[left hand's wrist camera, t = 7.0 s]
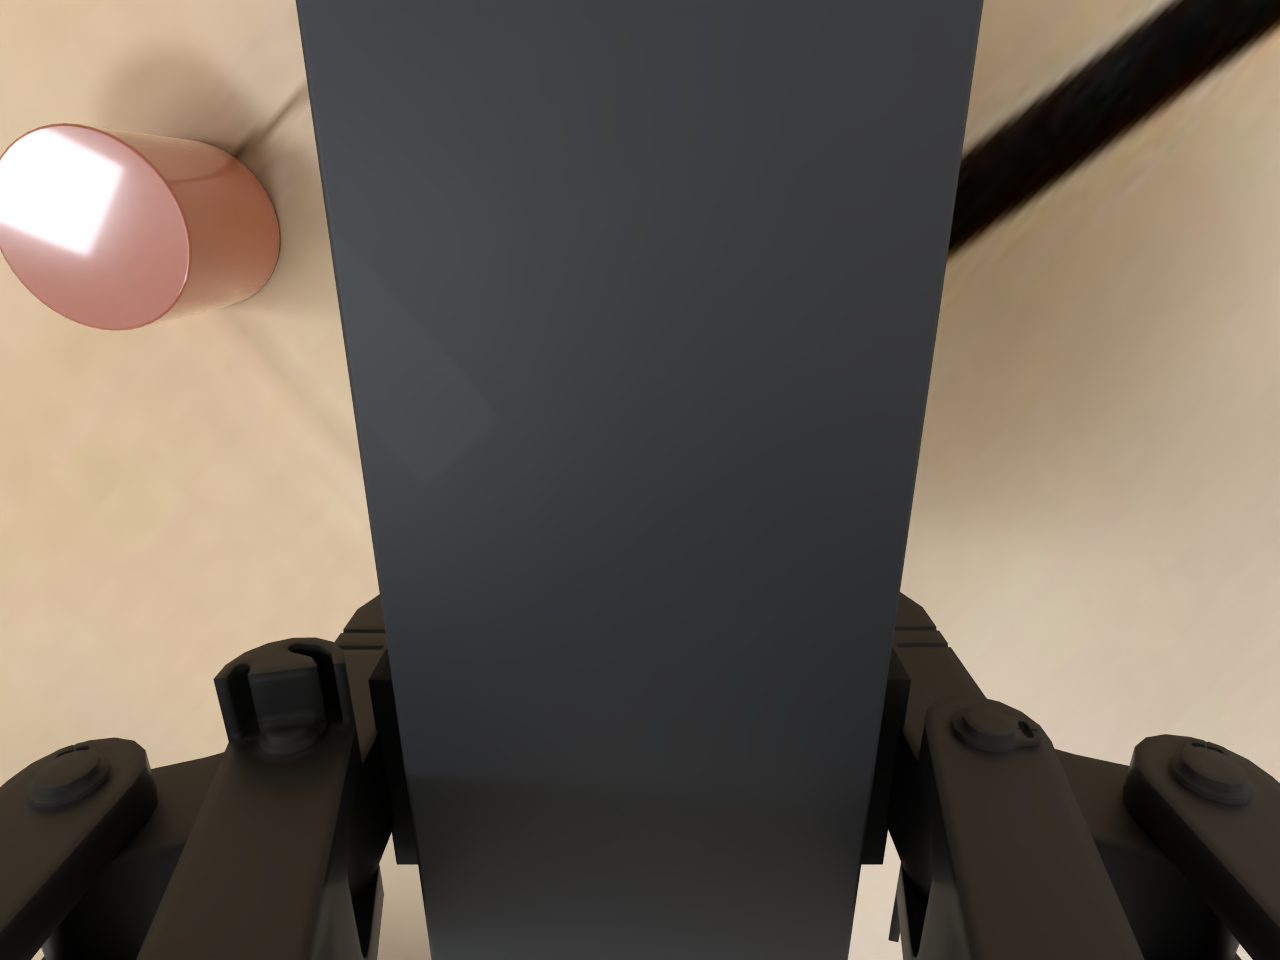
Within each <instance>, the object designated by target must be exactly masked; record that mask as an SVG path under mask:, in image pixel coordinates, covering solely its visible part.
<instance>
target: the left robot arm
mask: <svg viewBox="0 0 1280 960" xmlns="http://www.w3.org/2000/svg"><path fill="white" fill-rule="evenodd" d="M214 683H215V687H216V691H217V695H218V699H219V703H220V707H221V712H222V716H223V720H224V724H225V728H226V732H227V736H228V740H229V743H228V745H227V748H226V750H225V752H223V753H220V754H216V755H213V756H209V757H206V758H201V759H196V760H192V761H187V762H182V763H178V764H173V765H168V766H164V767H159V768H154V769H151V768H150V765H149V761H148V758H147V754H146V751H145V749H143V748H142V747H141V746H140V745H139V744H137V743H136V742H135V741H132V740H126V739H120V738H107V739H98V740H90V741H86V742H82V743H78V744H76V745H71V746H68V747H65V748H62V749H59V750H57V751H56V752H54V753H52V754H50V755H48V756H46V757H44V758H42V759H40V760H38V761H35V762H33V763H32V764H30V765H29V766H27V767H26V768H25V769H23V770H22V771H20V772H19V773H18V774H16V775H15V776H14V777H12V778H11V779H9V780H8V781H7V782H6V783H5V784H4V785H2V786H1V787H0V960H31V959H32V958H33V957H34V955H35V954H36V953H37V952H38V950H39V949H40V948H42V951H43V953H44V957H43V958H42V960H377V953H378V944H379V935H380V925H381V916H382V907H383V897H384V892H383V885H382V878H381V872H380V866H379V862H380V860H381V857H382V855H383V852H384V850H385V847H386V845H387V842H388V840H389V837H390V835H391V832H392V836H393V843H394V849H395V856H396V862H397V864H418V859H417V852H416V845H415V838H414V831H413V824H412V817H411V810H410V803H409V796H408V789H407V782H406V775H405V768H404V761H403V754H402V746H401V739H400V732H399V725H398V718H397V711H396V704H395V697H394V690H393V683H392V676H391V669H390V662H389V655H388V648H387V641H386V634H385V626H384V619H383V612H382V605H381V598H380V594H379V595H378V596H377V597H375V598H374V599H372V600H371V601H369V602H368V603H366V604H365V605H363V606H362V607H360V608H359V609H357V611H356V612H355V614H354V615H353V617H352V618H351V619H350V621H349V622H348V624H347V625H346V627H345V628H344V632H343V633H341V634H340V635H339V637H338V638H337V639H336V641H335V642H331V641H327V640H323V639H319V638H291V639H286V640H281V641H276V642H271V643H268V644H265V645H263V646H260V647H257V648H255V649H252V650H250V651H247V652H245V653H243V654H242V655H240V656H239V657H237V658H236V659H234V660H233V661H231V662H230V663H228V664H226V665H225V666H224V668H223V669H222V670H221V671H220V672H219V673H218V675H217V676H216V677H215V678H214ZM888 830H889V832H890V835H891V837H892V840H893V842H894V845H895V847H896V850H897V852H898V855H899V857H900V860H901V866H900V872H899V878H898V884H897V890H896V896H895V902H894V908H893V914H892V920H891V926H890V933H889V940H890V941H895V942H898V941H899V935H900V933H901V942H902V952H903V960H1241V958H1240V957H1239V956H1238V955H1237V954H1236V951H1237V949H1238V946H1239V944H1240V945H1241V946H1242V947H1243V948H1244V949H1245V951H1246V952H1247V953H1248V954H1249V956H1250V957H1251V958H1252V959H1253V960H1280V783H1279V782H1278V781H1277V780H1275V779H1274V778H1273V777H1272V776H1270V775H1269V774H1268V773H1266V772H1265V771H1263V770H1262V769H1261V768H1259V767H1258V766H1257V765H1255V764H1254V763H1252V762H1251V761H1250V760H1248V759H1246V758H1244V757H1242V756H1240V755H1238V754H1236V753H1233V752H1231V751H1229V750H1227V749H1226V748H1224V747H1222V746H1219V745H1216V744H1214V743H1211V742H1205V741H1204V740H1200V739H1196V738H1192V737H1185V736H1176V735H1167V734H1165V735H1159V736H1152V737H1146V738H1145V739H1144V740H1143V741H1141V742H1140V743H1139V744H1138V745H1137V746H1135V749H1134V752H1133V756H1132V759H1131V762H1130V766H1126V765H1122V764H1117V763H1112V762H1108V761H1103V760H1098V759H1093V758H1089V757H1084V756H1079V755H1075V754H1071V753H1068V752H1064V751H1060V750H1057V749H1054V747H1053V744H1052V742H1051V740H1050V739H1049V737H1048V736H1047V735H1046V733H1045V732H1044V730H1043V729H1042V728H1041V726H1040V725H1038V724H1037V723H1036V722H1034V721H1033V720H1032V719H1030V718H1029V717H1028V716H1026V715H1025V714H1024V713H1022V712H1021V711H1019V710H1016V709H1014V708H1012V707H1010V706H1008V705H1005V704H1003V703H1001V702H998V701H994V700H990V699H987V698H986V697H985V696H984V694H983V693H982V691H981V690H980V688H979V687H978V686H977V684H976V683H975V681H974V680H973V678H972V677H971V676H970V674H969V673H968V671H967V670H966V668H965V667H964V666H963V664H962V663H961V661H960V660H959V658H958V657H957V656H956V654H955V653H954V651H953V650H952V649H951V647H948V643H947V641H946V640H945V639H944V637H943V636H942V634H941V633H940V631H937V630H936V626H935V624H934V623H933V621H932V620H931V619H930V617H929V616H928V614H927V613H926V611H925V610H924V609H923V607H922V606H920V605H919V604H917V603H916V602H914V601H913V600H911V599H910V598H908V597H907V596H905V595H904V594H902V593H901V592H900V593H899V601H898V608H897V615H896V622H895V629H894V636H893V643H892V650H891V657H890V664H889V671H888V678H887V685H886V692H885V700H884V707H883V714H882V721H881V728H880V735H879V742H878V749H877V756H876V763H875V770H874V777H873V784H872V791H871V798H870V806H869V813H868V820H867V827H866V834H865V841H864V848H863V855H862V862H861V864H883V859H884V852H885V846H886V839H887V833H888Z"/></svg>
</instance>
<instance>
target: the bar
mask: <svg viewBox="0 0 1280 960" xmlns="http://www.w3.org/2000/svg"><path fill="white" fill-rule="evenodd" d="M296 5H297V12H298V19H299V26H300V34H301V41H302V48H303V55H304V62H305V69H306V76H307V83H308V90H309V97H310V104H311V111H312V118H313V125H314V132H315V139H316V146H317V154H318V161H319V168H320V175H321V182H322V189H323V196H324V203H325V210H326V217H327V224H328V231H329V238H330V245H331V252H332V259H333V266H334V274H335V281H336V288H337V295H338V302H339V309H340V316H341V323H342V330H343V337H344V344H345V351H346V358H347V365H348V372H349V379H350V386H351V394H352V401H353V408H354V415H355V422H356V429H357V436H358V443H359V450H360V457H361V464H362V471H363V478H364V485H365V492H366V499H367V506H368V514H369V521H370V528H371V535H372V542H373V549H374V556H375V563H376V570H377V577H378V584H379V591H380V598H381V605H382V612H383V619H384V626H385V634H386V641H387V648H388V655H389V662H390V669H391V676H392V683H393V690H394V697H395V704H396V711H397V718H398V725H399V732H400V739H401V746H402V754H403V761H404V768H405V775H406V782H407V789H408V796H409V803H410V810H411V817H412V824H413V831H414V838H415V845H416V852H417V859H418V866H419V874H420V881H421V888H422V895H423V902H424V909H425V916H426V923H427V930H428V937H429V944H430V951H431V958H432V960H848V954H849V947H850V940H851V933H852V926H853V919H854V912H855V905H856V897H857V890H858V883H859V876H860V869H861V862H862V855H863V848H864V841H865V834H866V827H867V820H868V813H869V806H870V798H871V791H872V784H873V777H874V770H875V763H876V756H877V749H878V742H879V735H880V728H881V721H882V714H883V707H884V700H885V692H886V685H887V678H888V671H889V664H890V657H891V650H892V643H893V636H894V629H895V622H896V615H897V608H898V601H899V593H900V586H901V579H902V572H903V565H904V558H905V551H906V544H907V537H908V530H909V523H910V516H911V509H912V502H913V495H914V487H915V480H916V473H917V466H918V459H919V452H920V445H921V438H922V431H923V424H924V417H925V410H926V403H927V396H928V388H929V381H930V374H931V367H932V360H933V353H934V346H935V339H936V332H937V325H938V318H939V311H940V304H941V297H942V290H943V282H944V275H945V268H946V261H947V254H948V247H949V240H950V233H951V226H952V219H953V212H954V205H955V198H956V191H957V183H958V176H959V169H960V162H961V155H962V148H963V141H964V134H965V127H966V120H967V113H968V106H969V99H970V92H971V85H972V77H973V70H974V63H975V56H976V49H977V42H978V35H979V28H980V21H981V14H982V7H983V0H296Z"/></svg>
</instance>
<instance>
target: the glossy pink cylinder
mask: <svg viewBox="0 0 1280 960" xmlns="http://www.w3.org/2000/svg"><path fill="white" fill-rule="evenodd" d="M279 247H280V235H279V226H278V221H277V217H276V213H275V211H274V208H273V205H272V203H271V201H270V199H269V197H268V194H267V193H266V191H265V190H264V188H263V186H262V185H261V183H260V182H259V181H258V180H257V178H256V177H255V176H254V174H253V173H252V172H251V171H250V170H249V169H248V168H247V167H246V166H245V165H243V164H242V163H241V162H240V161H239V160H237V159H236V158H235V157H233V156H232V155H230V154H229V153H227V152H225V151H223V150H221V149H219V148H217V147H215V146H213V145H210V144H207V143H204V142H199V141H194V140H188V139H181V138H173V137H166V136H159V135H152V134H145V133H138V132H130V131H123V130H116V129H109V128H102V127H95V126H87V125H80V124H68V123H63V124H51V125H47V126H42V127H39V128H36V129H34V130H32V131H29V132H27V133H26V134H24V135H22V136H21V137H19V138H18V139H16V140H15V141H14V142H13V143H12V144H11V145H10V146H9V147H8V148H7V149H6V151H5V152H4V153H3V155H2V156H1V157H0V250H1V252H2V254H3V256H4V258H5V260H6V261H7V263H8V264H9V266H10V268H11V269H12V271H13V272H14V273H15V275H16V276H17V277H18V279H19V280H20V281H21V282H22V284H23V285H24V286H25V287H26V288H27V289H28V290H29V291H30V292H31V293H32V294H33V295H34V296H35V297H37V298H38V299H39V300H40V301H41V302H42V303H44V304H45V305H47V306H48V307H49V308H51V309H52V310H54V311H55V312H57V313H59V314H60V315H62V316H64V317H66V318H68V319H70V320H73V321H75V322H77V323H80V324H83V325H86V326H89V327H93V328H98V329H103V330H115V331H119V330H131V329H136V328H140V327H144V326H148V325H152V324H156V323H160V322H164V321H168V320H172V319H176V318H180V317H184V316H188V315H192V314H196V313H200V312H204V311H208V310H212V309H216V308H220V307H225V306H229V305H233V304H236V303H239V302H241V301H244V300H246V299H248V298H249V297H251V296H253V295H254V294H255V293H257V292H258V291H259V290H260V289H261V288H262V287H263V286H264V285H265V284H266V282H267V281H268V279H269V278H270V276H271V274H272V272H273V270H274V268H275V265H276V262H277V259H278V254H279Z"/></svg>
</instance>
